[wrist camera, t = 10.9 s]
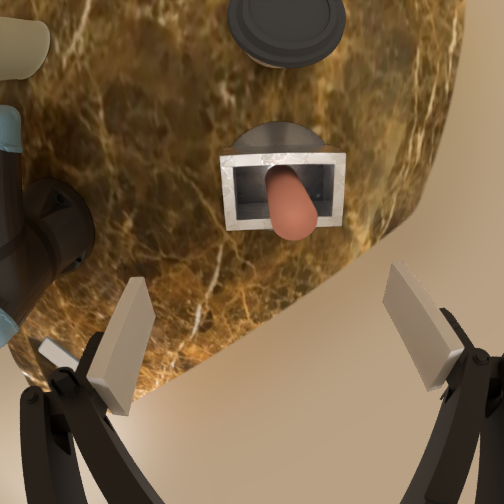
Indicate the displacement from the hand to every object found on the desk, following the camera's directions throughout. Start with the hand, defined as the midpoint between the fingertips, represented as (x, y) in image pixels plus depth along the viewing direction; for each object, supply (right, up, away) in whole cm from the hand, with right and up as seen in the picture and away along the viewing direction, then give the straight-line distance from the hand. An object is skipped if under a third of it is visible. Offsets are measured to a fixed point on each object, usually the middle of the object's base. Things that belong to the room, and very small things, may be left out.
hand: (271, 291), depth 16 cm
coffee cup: (+2, +26, +13) cm, 29 cm away
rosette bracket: (+2, +11, +21) cm, 24 cm away
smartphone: (-43, -23, +41) cm, 63 cm away
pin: (+3, +11, +21) cm, 23 cm away
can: (-33, +31, +10) cm, 46 cm away
